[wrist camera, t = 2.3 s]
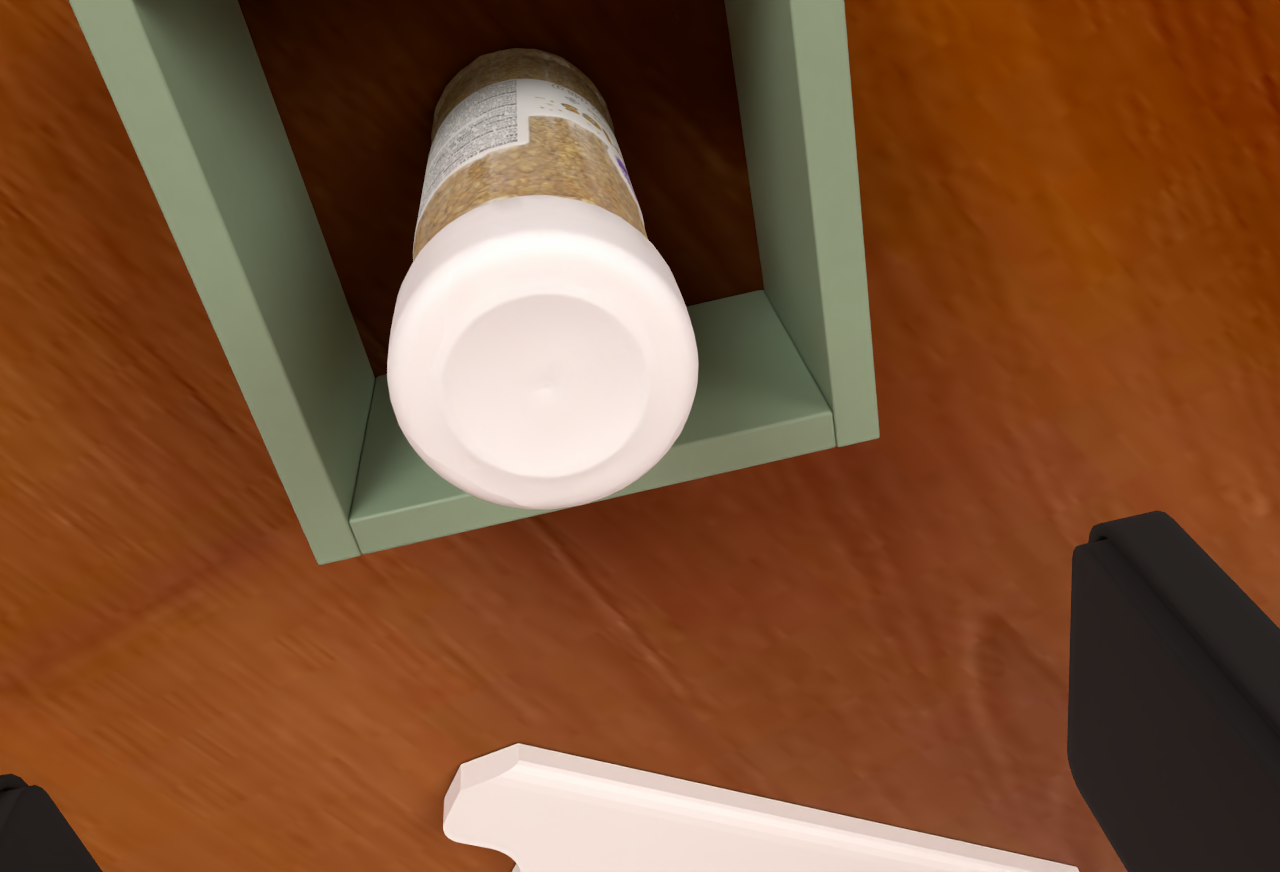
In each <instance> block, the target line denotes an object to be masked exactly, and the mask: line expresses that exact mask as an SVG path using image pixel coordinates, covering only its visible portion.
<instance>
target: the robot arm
mask: <svg viewBox="0 0 1280 872" xmlns="http://www.w3.org/2000/svg"><path fill="white" fill-rule="evenodd" d="M1067 752H1068V760H1069V765H1070V769H1071V772H1072V775H1073V778H1074V780H1075V783H1076V785H1077V787H1078V789H1079V791H1080V793H1081V795H1082V796H1083V798H1084V800H1085V801H1086V803H1087V805H1088V806H1089V808H1090V810H1091V811H1092V813H1093V815H1094V816H1095V818H1096V820H1097V821H1098V823H1099V825H1100V826H1101V828H1102V830H1103V831H1104V833H1105V835H1106V836H1107V838H1108V840H1109V841H1110V843H1111V845H1112V846H1113V848H1114V850H1115V851H1116V853H1117V854H1118V856H1119V858H1120V859H1121V861H1122V863H1123V864H1124V866H1125V868H1126V869H1127V871H1128V872H1280V629H1279V628H1278V627H1277V626H1276V625H1275V624H1274V623H1273V622H1272V621H1271V620H1270V619H1269V617H1268V616H1267V615H1266V614H1265V613H1264V612H1263V611H1262V610H1261V609H1260V608H1259V607H1258V606H1257V605H1256V604H1255V603H1254V602H1253V601H1252V600H1251V599H1250V598H1249V597H1248V596H1247V595H1246V594H1245V593H1244V592H1243V591H1242V590H1241V589H1240V588H1239V586H1238V585H1237V584H1236V583H1235V582H1234V581H1233V580H1232V579H1231V578H1230V577H1229V576H1228V575H1227V574H1226V573H1225V572H1224V571H1223V570H1222V569H1221V568H1220V567H1219V566H1218V565H1217V564H1216V563H1215V562H1214V561H1213V560H1212V559H1211V558H1210V557H1209V555H1208V554H1207V553H1206V552H1205V551H1204V550H1203V549H1202V548H1201V547H1200V546H1199V545H1198V544H1197V543H1196V542H1195V541H1194V540H1193V539H1192V538H1191V537H1190V536H1189V535H1188V534H1187V533H1186V532H1185V531H1184V530H1183V529H1182V528H1181V527H1180V526H1179V524H1178V523H1177V522H1176V521H1175V520H1174V519H1172V518H1171V517H1170V516H1169V515H1167V514H1166V513H1165V512H1161V511H1153V512H1149V513H1144V514H1140V515H1136V516H1131V517H1127V518H1122V519H1118V520H1114V521H1109V522H1105V523H1101V524H1098V525H1095V526H1093V528H1092V530H1091V532H1090V535H1089V541H1088V543H1087V544H1083V545H1079V546H1077V547H1076V548H1075V550H1074V551H1073V558H1072V592H1071V629H1070V667H1069V705H1068V742H1067ZM0 872H102V870H101V869H100V867H99V866H98V865H97V863H96V862H95V860H94V859H93V858H92V856H91V855H90V853H89V852H88V850H87V849H86V848H85V846H84V845H83V843H82V842H81V840H80V839H79V838H78V836H77V835H76V833H75V832H74V830H73V829H72V828H71V826H70V825H69V823H68V822H67V821H66V819H65V818H64V816H63V815H62V813H61V812H60V811H59V809H58V808H57V806H56V805H55V803H54V802H53V801H52V799H51V798H50V796H49V795H48V794H47V793H46V792H45V790H44V789H43V788H41V787H39V786H36V785H33V786H28V785H27V784H26V783H25V782H24V781H23V780H22V778H20V777H18V776H15V775H13V774H7V775H0Z"/></svg>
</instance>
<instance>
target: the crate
mask: <svg viewBox="0 0 1280 872" xmlns="http://www.w3.org/2000/svg"><path fill="white" fill-rule="evenodd" d="M724 1H725V9H726V16H727V23H728V31H729V38H730V45H731V52H732V60H733V67H734V74H735V81H736V89H737V96H738V103H739V111H740V118H741V125H742V132H743V140H744V147H745V154H746V162H747V169H748V176H749V183H750V191H751V198H752V205H753V212H754V220H755V227H756V234H757V242H758V249H759V256H760V263H761V271H762V278H763V285H764V290H757V291H753V292H749V293H744V294H740V295H735V296H731V297H727V298H722V299H718V300H713V301H709V302H704V303H700V304H696V305H691V306H687V307H686V308H687V311H688V314H689V317H690V320H691V324H692V328H693V331H694V335H695V340H696V346H697V351H698V362H699V365H698V383H697V389H696V394H695V397H694V401H693V404H692V408H691V411H690V413H689V416H688V418H687V421H686V423H685V425H684V427H683V430H682V432H681V434H680V435H679V437H678V438H677V439H676V441H675V442H674V444H673V445H672V447H671V448H670V449H669V451H668V452H667V453H666V454H665V455H664V456H663V457H662V458H661V459H660V461H659V462H658V463H657V464H656V465H654V466H653V467H652V468H651V469H650V470H649V471H648V472H647V473H645V474H644V475H643V476H641V477H640V478H639V479H637V480H636V481H635V482H633V483H631V484H630V485H628V486H627V487H625V488H623V489H622V490H619V491H617V492H615V493H613V494H611V495H609V496H607V497H604V498H602V499H599V500H596V501H593V502H597V501H602V500H606V499H611V498H615V497H619V496H624V495H628V494H633V493H637V492H641V491H646V490H650V489H655V488H659V487H663V486H668V485H672V484H677V483H681V482H685V481H690V480H694V479H698V478H703V477H707V476H712V475H716V474H720V473H725V472H729V471H734V470H738V469H742V468H747V467H751V466H756V465H760V464H764V463H769V462H773V461H778V460H782V459H786V458H791V457H795V456H800V455H804V454H808V453H813V452H817V451H821V450H826V449H830V448H834V447H835V445H837V447H842V446H847V445H851V444H856V443H860V442H864V441H869V440H873V439H878V438H879V437H880V434H879V422H878V409H877V397H876V385H875V373H874V360H873V348H872V336H871V324H870V311H869V299H868V287H867V275H866V263H865V250H864V238H863V226H862V214H861V201H860V189H859V177H858V165H857V152H856V140H855V128H854V116H853V104H852V91H851V79H850V67H849V55H848V42H847V30H846V18H845V6H844V0H724ZM69 2H70V5H71V7H72V9H73V11H74V14H75V16H76V18H77V20H78V23H79V25H80V27H81V29H82V32H83V34H84V36H85V38H86V41H87V43H88V45H89V47H90V50H91V52H92V54H93V56H94V59H95V61H96V63H97V66H98V68H99V70H100V72H101V75H102V77H103V79H104V81H105V84H106V86H107V88H108V90H109V93H110V95H111V97H112V99H113V102H114V104H115V106H116V108H117V111H118V113H119V115H120V118H121V120H122V122H123V124H124V127H125V129H126V131H127V133H128V136H129V138H130V140H131V142H132V145H133V147H134V149H135V151H136V154H137V156H138V158H139V160H140V163H141V165H142V167H143V170H144V172H145V174H146V176H147V179H148V181H149V183H150V185H151V188H152V190H153V192H154V194H155V197H156V199H157V201H158V203H159V206H160V208H161V210H162V212H163V215H164V217H165V219H166V222H167V224H168V226H169V228H170V231H171V233H172V235H173V237H174V240H175V242H176V244H177V246H178V249H179V251H180V253H181V255H182V258H183V260H184V262H185V264H186V267H187V269H188V271H189V273H190V276H191V278H192V280H193V283H194V285H195V287H196V289H197V292H198V294H199V296H200V298H201V301H202V303H203V305H204V307H205V310H206V312H207V314H208V316H209V319H210V321H211V323H212V325H213V328H214V330H215V332H216V335H217V337H218V339H219V341H220V344H221V346H222V348H223V350H224V353H225V355H226V357H227V359H228V362H229V364H230V366H231V368H232V371H233V373H234V375H235V377H236V380H237V382H238V384H239V387H240V389H241V391H242V393H243V396H244V398H245V400H246V402H247V405H248V407H249V409H250V411H251V414H252V416H253V418H254V420H255V423H256V425H257V427H258V429H259V432H260V434H261V436H262V439H263V441H264V443H265V445H266V448H267V450H268V452H269V454H270V457H271V459H272V461H273V463H274V466H275V468H276V470H277V472H278V475H279V477H280V479H281V481H282V484H283V486H284V488H285V491H286V493H287V495H288V497H289V500H290V502H291V504H292V506H293V509H294V511H295V513H296V515H297V518H298V520H299V522H300V524H301V527H302V529H303V531H304V533H305V536H306V538H307V540H308V542H309V545H310V547H311V549H312V552H313V554H314V556H315V558H316V561H317V563H318V564H319V565H323V564H327V563H332V562H336V561H340V560H345V559H349V558H354V557H358V556H360V555H361V553H362V554H369V553H373V552H378V551H382V550H387V549H391V548H395V547H400V546H404V545H408V544H413V543H417V542H422V541H426V540H430V539H435V538H439V537H444V536H448V535H452V534H457V533H461V532H466V531H470V530H474V529H479V528H483V527H488V526H492V525H496V524H501V523H505V522H510V521H514V520H518V519H523V518H527V517H532V516H536V515H540V514H545V513H549V512H553V511H558V510H562V509H567V508H571V507H566V508H559V509H551V510H535V509H522V508H515V507H509V506H504V505H499V504H495V503H492V502H489V501H485V500H482V499H480V498H478V497H475V496H473V495H471V494H469V493H466V492H464V491H463V490H461V489H459V488H457V487H455V486H454V485H452V484H451V483H449V482H448V481H446V480H445V479H444V478H442V477H441V476H440V475H438V474H437V473H436V472H435V471H434V470H433V469H432V468H431V467H429V466H428V465H427V464H426V463H425V462H424V460H423V459H422V458H421V457H420V456H419V455H418V454H417V452H416V451H415V450H414V449H413V447H412V446H411V445H410V443H409V442H408V440H407V438H406V437H405V435H404V433H403V432H402V430H401V428H400V426H399V424H398V421H397V418H396V415H395V413H394V410H393V407H392V404H391V401H390V395H389V388H388V381H387V374H386V375H382V376H378V377H376V379H375V376H374V374H373V371H372V368H371V365H370V363H369V360H368V357H367V354H366V352H365V349H364V346H363V343H362V341H361V338H360V335H359V332H358V330H357V327H356V324H355V321H354V319H353V316H352V313H351V311H350V308H349V305H348V302H347V300H346V297H345V294H344V291H343V289H342V286H341V283H340V280H339V278H338V275H337V272H336V269H335V267H334V264H333V261H332V258H331V256H330V253H329V250H328V247H327V245H326V242H325V239H324V236H323V234H322V231H321V228H320V225H319V223H318V220H317V217H316V214H315V212H314V209H313V206H312V203H311V201H310V198H309V195H308V192H307V190H306V187H305V184H304V181H303V179H302V176H301V173H300V170H299V168H298V165H297V162H296V159H295V157H294V154H293V151H292V148H291V146H290V143H289V140H288V137H287V135H286V132H285V129H284V126H283V124H282V121H281V118H280V115H279V113H278V110H277V107H276V104H275V102H274V99H273V96H272V93H271V91H270V88H269V85H268V82H267V80H266V77H265V74H264V71H263V69H262V66H261V63H260V60H259V58H258V55H257V52H256V49H255V47H254V44H253V41H252V38H251V36H250V33H249V30H248V27H247V25H246V22H245V19H244V16H243V14H242V11H241V8H240V5H239V3H238V0H69ZM593 502H590V503H593ZM586 504H589V503H586ZM582 505H584V504H582ZM578 506H580V505H578ZM573 507H575V506H573Z"/></svg>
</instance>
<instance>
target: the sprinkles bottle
mask: <svg viewBox="0 0 1280 872" xmlns="http://www.w3.org/2000/svg"><path fill="white" fill-rule="evenodd" d="M431 141H432V145H431V149H430V153H429V156H428V161H427V167H426V173H425V179H424V185H423V190H422V196H421V202H420V208H419V213H418V219H417V225H416V231H415V237H414V246H413V263H412V265H411V267H410V269H409V271H408V273H407V275H406V277H405V279H404V280H403V282H402V285H401V288H400V290H399V293H398V296H397V301H396V305H395V310H394V316H393V321H392V326H391V332H390V340H389V349H388V360H387V381H388V388H389V395H390V401H391V404H392V407H393V410H394V413H395V415H396V418H397V421H398V424H399V426H400V428H401V430H402V432H403V433H404V435H405V437H406V438H407V440H408V442H409V443H410V445H411V446H412V447H413V449H414V450H415V451H416V452H417V454H418V455H419V456H420V457H421V458H422V459H423V460H424V462H425V463H426V464H427V465H428V466H429V467H431V468H432V469H433V470H434V471H435V472H436V473H437V474H438V475H440V476H441V477H442V478H444V479H445V480H446V481H448V482H449V483H451V484H452V485H454V486H455V487H457V488H459V489H461V490H463V491H464V492H466V493H469V494H471V495H473V496H475V497H478V498H480V499H482V500H485V501H489V502H492V503H495V504H499V505H504V506H509V507H515V508H522V509H535V510H551V509H559V508H566V507H573V506H578V505H582V504H586V503H590V502H593V501H596V500H599V499H602V498H604V497H607V496H609V495H611V494H613V493H615V492H617V491H619V490H622V489H623V488H625V487H627V486H628V485H630V484H631V483H633V482H635V481H636V480H637V479H639V478H640V477H641V476H643V475H644V474H645V473H647V472H648V471H649V470H650V469H651V468H652V467H653V466H654V465H656V464H657V463H658V462H659V461H660V459H661V458H662V457H663V456H664V455H665V454H666V453H667V452H668V451H669V449H670V448H671V447H672V445H673V444H674V442H675V441H676V439H677V438H678V437H679V435H680V434H681V432H682V430H683V427H684V425H685V423H686V421H687V418H688V416H689V413H690V411H691V408H692V404H693V401H694V397H695V394H696V389H697V383H698V365H699V362H698V351H697V346H696V340H695V335H694V331H693V328H692V324H691V320H690V317H689V314H688V311H687V308H686V305H685V303H684V300H683V297H682V295H681V292H680V290H679V288H678V285H677V283H676V281H675V278H674V276H673V274H672V272H671V270H670V268H669V266H668V265H667V263H666V262H665V260H664V259H663V258H662V256H661V255H660V253H659V252H658V251H657V249H656V248H655V247H654V245H653V244H652V243H651V242H650V241H649V240H648V238H647V235H646V232H645V227H644V221H643V216H642V213H641V210H640V207H639V204H638V201H637V198H636V196H635V193H634V190H633V187H632V184H631V181H630V179H629V176H628V172H627V170H626V167H625V163H624V160H623V157H622V154H621V151H620V148H619V146H618V143H617V141H616V138H615V136H614V127H613V123H612V120H611V117H610V114H609V111H608V108H607V104H606V102H605V100H604V99H603V97H602V95H601V94H600V92H599V90H598V89H597V87H596V86H595V85H594V84H593V83H592V81H591V80H590V79H589V78H588V77H587V76H586V75H585V74H584V73H583V72H582V71H581V70H579V69H578V68H577V67H575V66H574V65H573V64H571V63H570V62H568V61H567V60H565V59H564V58H562V57H560V56H557V55H554V54H551V53H548V52H545V51H542V50H537V49H522V48H512V49H506V50H499V51H496V52H493V53H489V54H485V55H482V56H479V57H478V58H477V59H475V60H474V61H473V62H472V63H470V64H469V65H468V66H466V67H465V68H463V69H461V70H460V71H459V72H458V73H457V74H456V75H455V76H454V78H453V79H452V80H451V81H450V82H449V83H448V85H447V86H446V87H445V89H444V91H443V93H442V96H441V97H440V99H439V101H438V103H437V105H436V108H435V112H434V121H433V127H432V132H431Z"/></svg>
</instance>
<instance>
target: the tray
mask: <svg viewBox="0 0 1280 872" xmlns="http://www.w3.org/2000/svg"><path fill="white" fill-rule="evenodd" d="M443 831H444V833H445V835H446V836H447V837H448V838H449V839H451V840H453V841H456V842H459V843H464V844H470V845H475V846H480V847H486V848H490V849H494V850H498V851H500V852H502V853H504V854H506V855H508V856H509V857H511V858H512V859H513V860H514V861H515V862H516V865H515V867H514V869H513V870H512V872H1079V870H1078V868H1077V867H1075V866H1070V865H1066V864H1061V863H1057V862H1052V861H1048V860H1043V859H1039V858H1034V857H1030V856H1025V855H1021V854H1016V853H1012V852H1007V851H1003V850H998V849H994V848H989V847H985V846H980V845H976V844H971V843H967V842H962V841H958V840H953V839H948V838H944V837H939V836H935V835H930V834H926V833H921V832H917V831H912V830H908V829H903V828H899V827H894V826H890V825H885V824H881V823H876V822H872V821H867V820H863V819H858V818H854V817H849V816H845V815H840V814H836V813H831V812H827V811H822V810H818V809H813V808H809V807H804V806H800V805H795V804H791V803H786V802H782V801H777V800H773V799H768V798H764V797H759V796H754V795H750V794H745V793H741V792H736V791H732V790H727V789H723V788H718V787H714V786H709V785H705V784H700V783H696V782H691V781H687V780H682V779H678V778H673V777H669V776H664V775H660V774H655V773H651V772H646V771H642V770H637V769H633V768H628V767H624V766H619V765H615V764H610V763H606V762H601V761H597V760H592V759H588V758H583V757H579V756H574V755H569V754H565V753H560V752H556V751H551V750H547V749H542V748H538V747H533V746H529V745H524V744H520V743H517V744H515V745H512V746H509V747H507V748H504V749H501V750H499V751H496V752H493V753H490V754H488V755H485V756H482V757H480V758H477V759H474V760H471V761H469V762H466V763H463V764H461V765H460V767H459V769H458V771H457V773H456V775H455V777H454V779H453V781H452V783H451V785H450V787H449V790H448V792H447V794H446V796H445V798H444V818H443Z"/></svg>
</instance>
